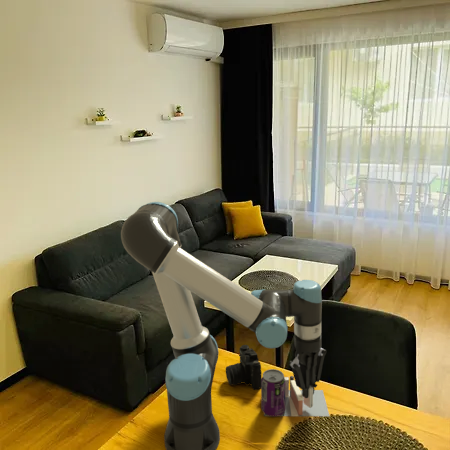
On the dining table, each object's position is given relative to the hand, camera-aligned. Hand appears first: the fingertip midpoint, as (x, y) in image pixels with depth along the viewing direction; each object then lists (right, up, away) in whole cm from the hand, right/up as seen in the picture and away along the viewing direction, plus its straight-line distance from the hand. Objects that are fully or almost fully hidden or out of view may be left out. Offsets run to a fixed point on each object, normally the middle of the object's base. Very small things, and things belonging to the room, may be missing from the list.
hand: (308, 404), depth 129 cm
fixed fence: (-8, 0, +7) cm, 11 cm away
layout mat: (-3, -1, +4) cm, 5 cm away
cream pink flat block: (-3, -1, +2) cm, 4 cm away
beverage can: (-10, -2, +1) cm, 11 cm away
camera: (-19, +1, +16) cm, 25 cm away
